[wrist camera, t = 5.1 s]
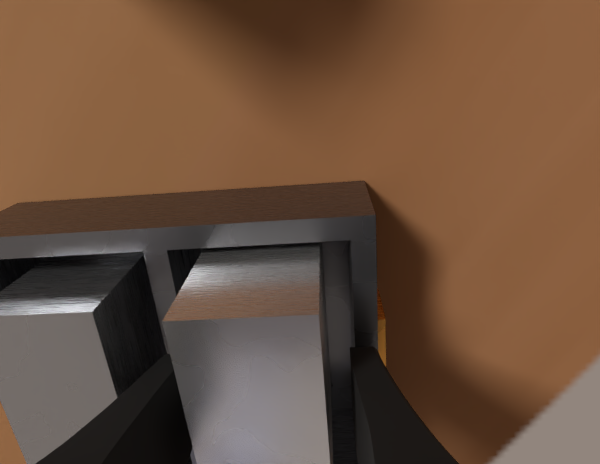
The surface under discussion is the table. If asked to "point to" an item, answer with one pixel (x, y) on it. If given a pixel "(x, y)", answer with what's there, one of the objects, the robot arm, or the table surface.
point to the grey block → (254, 355)
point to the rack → (159, 293)
